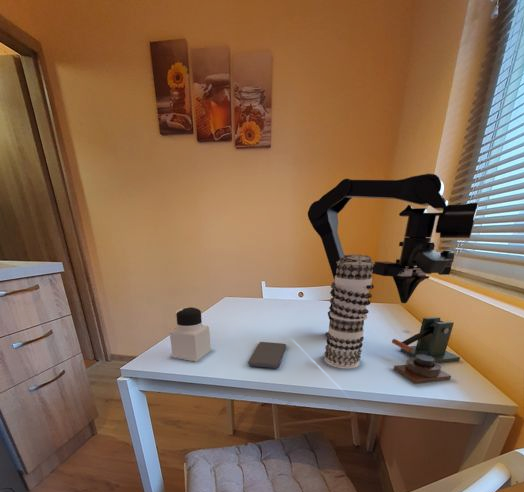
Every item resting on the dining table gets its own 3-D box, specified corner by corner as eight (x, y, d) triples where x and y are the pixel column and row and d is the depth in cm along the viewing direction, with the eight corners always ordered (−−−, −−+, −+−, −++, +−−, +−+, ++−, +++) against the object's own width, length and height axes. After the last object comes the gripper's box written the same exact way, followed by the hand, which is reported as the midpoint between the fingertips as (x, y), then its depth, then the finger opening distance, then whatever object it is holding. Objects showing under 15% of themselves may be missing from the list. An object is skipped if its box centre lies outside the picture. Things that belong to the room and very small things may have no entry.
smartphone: (286, 343, 77) (278, 365, 64) (286, 346, 78) (278, 369, 64) (259, 341, 79) (246, 362, 65) (259, 344, 79) (246, 366, 65)
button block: (414, 385, 59) (418, 372, 57) (393, 370, 65) (395, 358, 64) (449, 380, 61) (453, 368, 59) (425, 366, 67) (428, 355, 66)
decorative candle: (345, 351, 74) (359, 253, 65) (369, 366, 66) (389, 256, 57) (315, 356, 71) (325, 254, 62) (336, 372, 64) (351, 257, 54)
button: (422, 369, 60) (424, 361, 59) (410, 362, 63) (412, 355, 62) (436, 367, 60) (438, 360, 60) (423, 360, 64) (425, 353, 63)
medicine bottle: (211, 351, 74) (208, 307, 69) (196, 362, 67) (192, 314, 63) (188, 347, 76) (183, 304, 71) (172, 357, 70) (166, 311, 65)
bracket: (425, 365, 67) (435, 327, 64) (400, 351, 75) (408, 316, 72) (459, 361, 70) (471, 324, 66) (431, 348, 78) (440, 314, 74)
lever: (408, 355, 67) (407, 346, 66) (392, 345, 72) (390, 338, 71) (451, 332, 67) (450, 324, 66) (432, 325, 73) (431, 317, 72)
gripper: (407, 238, 56) (392, 313, 62) (481, 238, 60) (460, 308, 66) (374, 237, 66) (364, 301, 72) (439, 237, 70) (424, 298, 76)
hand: (403, 302), depth 71 cm, fingers closed
